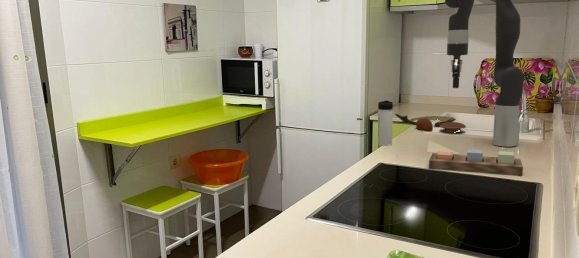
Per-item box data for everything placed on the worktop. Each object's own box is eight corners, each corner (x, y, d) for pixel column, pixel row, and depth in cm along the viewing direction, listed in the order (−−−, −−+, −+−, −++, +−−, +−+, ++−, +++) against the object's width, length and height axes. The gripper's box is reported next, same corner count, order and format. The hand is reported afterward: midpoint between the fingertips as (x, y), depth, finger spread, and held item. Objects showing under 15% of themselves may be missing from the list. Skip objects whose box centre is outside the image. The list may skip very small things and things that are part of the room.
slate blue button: (482, 159, 163) (482, 150, 162) (482, 162, 158) (482, 153, 157) (467, 158, 164) (467, 149, 164) (466, 161, 160) (467, 152, 159)
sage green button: (513, 161, 159) (513, 152, 158) (514, 164, 154) (514, 155, 154) (497, 160, 161) (498, 151, 160) (497, 163, 156) (498, 154, 156)
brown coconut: (459, 120, 226) (459, 132, 227) (436, 121, 225) (435, 133, 227) (470, 124, 214) (469, 137, 215) (445, 125, 214) (444, 138, 215)
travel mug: (392, 145, 201) (393, 100, 197) (391, 148, 195) (392, 102, 191) (378, 144, 203) (379, 100, 199) (376, 147, 197) (377, 102, 193)
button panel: (519, 167, 161) (520, 158, 161) (522, 175, 151) (523, 167, 150) (432, 160, 173) (432, 153, 172) (428, 168, 162) (429, 160, 162)
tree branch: (451, 132, 228) (452, 117, 226) (392, 128, 242) (392, 114, 240) (458, 125, 247) (458, 111, 246) (403, 122, 261) (403, 109, 260)
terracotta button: (452, 160, 167) (452, 152, 166) (451, 164, 162) (452, 155, 162) (438, 159, 169) (438, 151, 168) (437, 162, 164) (437, 154, 163)
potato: (429, 137, 221) (414, 129, 222) (425, 134, 233) (411, 127, 233) (437, 123, 220) (422, 116, 221) (432, 121, 232) (418, 114, 232)
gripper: (448, 42, 179) (446, 86, 182) (446, 42, 167) (444, 89, 170) (468, 42, 176) (466, 86, 179) (467, 42, 164) (465, 89, 167)
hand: (455, 88), depth 175 cm, fingers closed
